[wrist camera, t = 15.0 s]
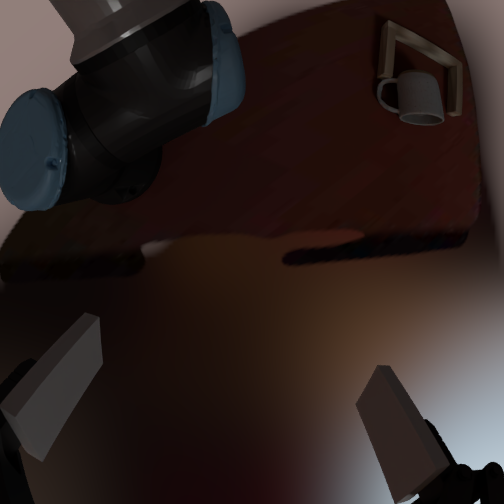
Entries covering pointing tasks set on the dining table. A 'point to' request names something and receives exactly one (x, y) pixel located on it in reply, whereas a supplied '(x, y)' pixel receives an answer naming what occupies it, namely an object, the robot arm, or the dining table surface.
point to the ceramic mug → (416, 98)
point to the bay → (411, 39)
